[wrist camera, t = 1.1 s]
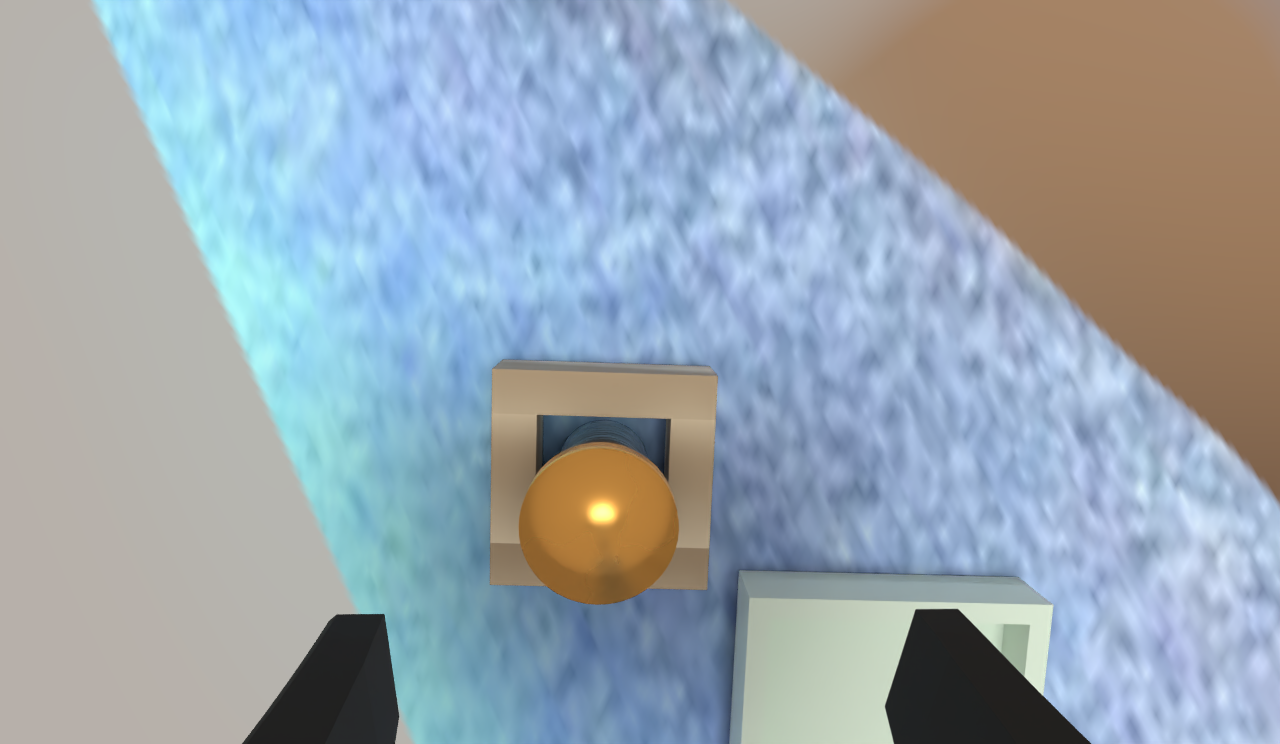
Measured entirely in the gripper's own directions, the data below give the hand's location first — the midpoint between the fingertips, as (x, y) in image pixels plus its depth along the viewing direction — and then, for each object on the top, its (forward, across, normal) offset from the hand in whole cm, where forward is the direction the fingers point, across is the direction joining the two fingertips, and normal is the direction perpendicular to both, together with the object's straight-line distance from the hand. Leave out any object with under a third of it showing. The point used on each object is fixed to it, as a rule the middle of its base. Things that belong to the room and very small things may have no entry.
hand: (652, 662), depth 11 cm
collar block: (+12, 0, +5) cm, 13 cm away
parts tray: (+8, -8, +12) cm, 17 cm away
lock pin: (+12, 0, +5) cm, 13 cm away
